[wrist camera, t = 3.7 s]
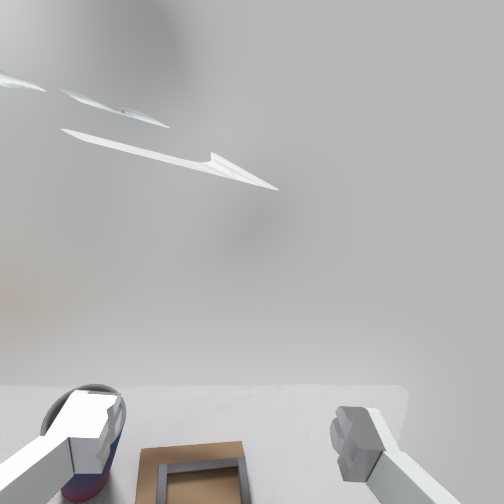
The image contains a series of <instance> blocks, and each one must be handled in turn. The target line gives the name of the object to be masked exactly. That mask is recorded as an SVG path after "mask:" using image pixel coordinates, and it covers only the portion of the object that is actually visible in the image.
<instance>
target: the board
mask: <svg viewBox="0 0 504 504" xmlns="http://www.w3.org/2000/svg"><path fill="white" fill-rule="evenodd" d="M135 504H251V500H250V493H249V485H248V478H247V470H246V463H245V456H244V454H243V446H242V441H236V442H223V443H210V444H197V445H184V446H171V447H158V448H145V449H141V454H140V463H139V472H138V481H137V490H136V499H135Z"/></svg>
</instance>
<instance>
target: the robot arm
mask: <svg viewBox="0 0 504 504" xmlns="http://www.w3.org/2000/svg"><path fill="white" fill-rule="evenodd" d="M120 402H121V393H110V392H98V391H86V390H75V391H74V392H73V393H72V394H71V395H70V396H69V398H68V399H67V401H66V403H65V404H64V406H63V407H62V409H61V411H60V412H59V414H58V415H57V417H56V419H55V420H54V422H53V424H52V425H51V427H50V428H49V430H48V432H47V433H46V435H45V436H39V437H38V438H36V439H35V440H34V441H32V442H31V443H29V444H28V445H27V446H25V447H24V448H23V449H21V450H20V451H18V452H17V453H16V454H14V455H13V456H11V457H10V458H9V459H7V460H6V461H5V462H3V463H2V464H0V504H47V502H48V501H49V500H50V499H51V498H52V497H53V496H54V495H55V494H56V493H57V492H58V491H59V490H60V489H61V488H62V487H63V486H64V485H65V484H66V483H67V482H68V481H69V480H70V479H71V478H72V477H73V476H74V474H102V471H103V469H104V466H105V464H106V461H107V459H108V456H109V454H110V443H111V442H112V441H113V440H114V439H115V438H116V436H117V433H118V430H119V427H120V423H121V417H122V408H121V407H120V406H119V404H120ZM336 415H337V418H335V419H334V420H333V421H332V424H331V427H330V436H331V441H332V445H333V448H334V449H335V450H336V451H337V453H338V454H339V457H338V460H337V462H338V465H339V468H340V471H341V474H342V478H343V481H348V482H363V483H366V485H367V486H368V487H369V489H370V490H371V491H372V493H373V494H374V495H375V496H376V498H377V499H378V500H379V502H380V503H381V504H460V502H458V501H457V500H456V499H455V498H454V497H453V496H452V495H451V494H450V493H449V492H448V491H446V490H445V489H444V488H443V487H442V486H441V485H440V484H439V483H437V481H436V480H434V479H433V478H432V477H431V476H430V475H429V474H428V473H427V472H426V471H425V470H424V469H422V468H421V467H420V466H419V465H418V464H417V463H416V462H415V461H414V460H413V459H412V458H410V457H409V456H408V455H407V454H406V453H405V452H401V451H400V449H399V447H398V445H397V443H396V441H395V439H394V437H393V436H392V434H391V432H390V430H389V428H388V426H387V424H386V422H385V420H384V418H383V416H382V414H381V412H380V411H379V410H378V409H377V408H363V407H345V406H340V407H338V408H337V410H336Z"/></svg>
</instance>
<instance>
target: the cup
mask: <svg viewBox="0 0 504 504" xmlns="http://www.w3.org/2000/svg"><path fill="white" fill-rule="evenodd" d="M75 390H86V391H98V392H110V393H118V392H117V391H116V390H115V389H113V388H111V387H109V386H106V385H101V384H89V385H84V386H81V387H78V388H75V389H73V390H71V391H69V392H68V393H66V394H65V395H63V396H62V397H61V398H59V399H58V400H57V401H56V402H55V403H54V404H53V405H52V407H51V408H50V409H49V411H48V412H47V414H46V416H45V418H44V420H43V423H42V426H41V434H40V436H45V435H46V433H47V432H48V430H49V428H50V427H51V425H52V424H53V422H54V420H55V419H56V417H57V415H58V414H59V412H60V411H61V409H62V407H63V406H64V404H65V403H66V401H67V399H68V398H69V396H70V395H71V394H72V393H73V392H74V391H75ZM119 406H120V407H121V408H122V417H121V423H120V427H119V430H118V433H117V436H116V438H115V439H114V440H113V441H112V442H111V443H110V454H109V456H108V459H107V461H106V464H105V466H104V469H103V471H102V474H74V476H73V477H72V478H71V479H70V480H69V481H68V482H67V483H66V484H65V485H64V486H63V487H62V488H61V490H62V492H63V495H64V496H65V497H66V499H68V500H69V501H72V502H84V501H86V500H89V499H90V498H92V497H94V496H95V495H96V494H97V493H98V492H99V491H100V490H101V489H102V488H103V486H104V484H105V483H106V480H107V478H108V475H109V471H110V468H111V465H112V462H113V458H114V455H115V452H116V449H117V445H118V442H119V439H120V436H121V432H122V429H123V426H124V422H125V418H126V407H125V403H124V400H123V398H122V397H121V402H120V404H119Z"/></svg>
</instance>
